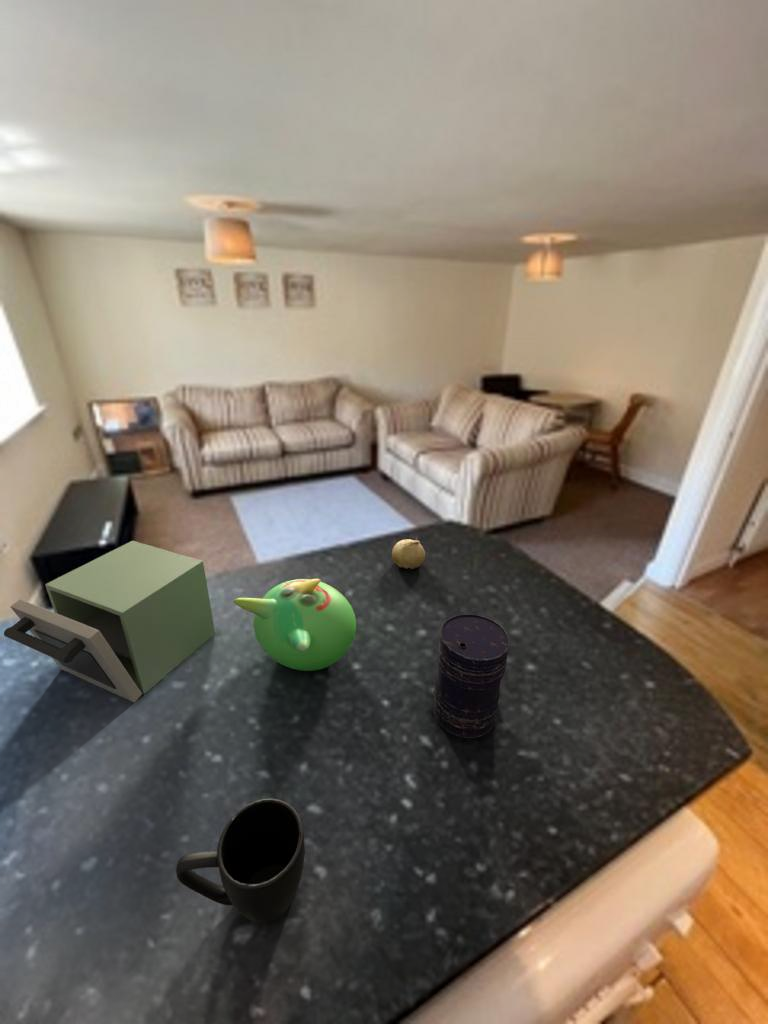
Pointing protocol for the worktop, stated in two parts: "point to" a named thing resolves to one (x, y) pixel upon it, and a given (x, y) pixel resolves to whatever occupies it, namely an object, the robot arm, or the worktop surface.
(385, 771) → the worktop surface
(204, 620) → the oven
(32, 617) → the door
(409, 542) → the onion
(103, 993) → the worktop surface
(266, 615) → the toy bird
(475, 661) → the dark oil drum
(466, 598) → the worktop surface
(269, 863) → the mug
